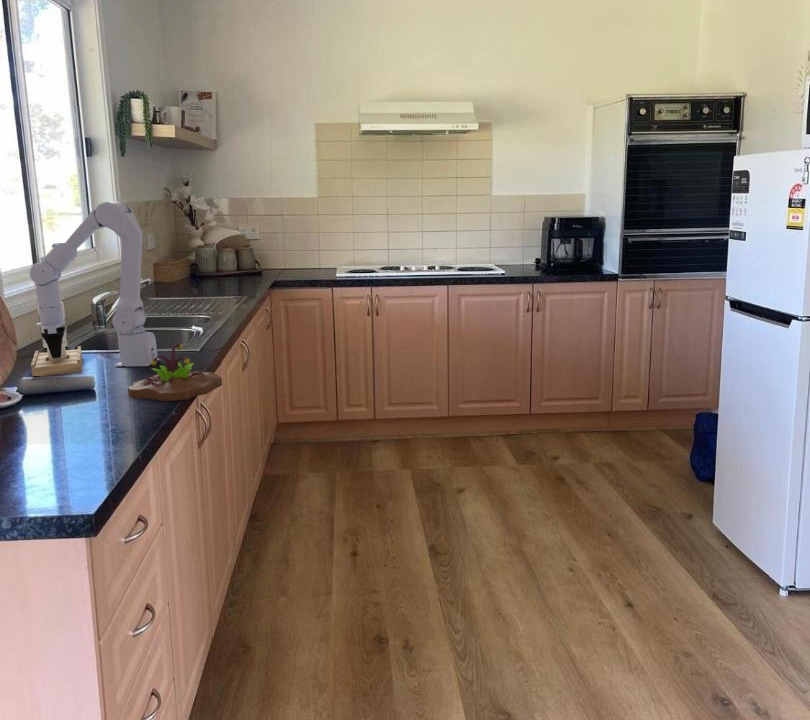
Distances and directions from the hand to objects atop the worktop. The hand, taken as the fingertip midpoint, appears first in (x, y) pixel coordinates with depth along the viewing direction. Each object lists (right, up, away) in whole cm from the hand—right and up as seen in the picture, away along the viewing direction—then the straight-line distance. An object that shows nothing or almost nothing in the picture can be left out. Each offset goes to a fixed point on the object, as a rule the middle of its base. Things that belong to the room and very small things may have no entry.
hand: (57, 355), depth 212 cm
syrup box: (-13, +2, +27) cm, 30 cm away
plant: (+42, -9, -28) cm, 51 cm away
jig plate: (0, -3, +1) cm, 3 cm away
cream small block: (0, -3, +1) cm, 3 cm away
